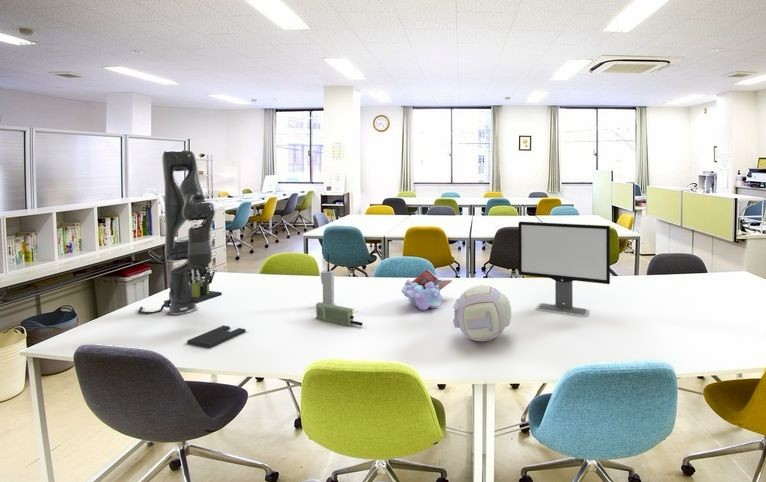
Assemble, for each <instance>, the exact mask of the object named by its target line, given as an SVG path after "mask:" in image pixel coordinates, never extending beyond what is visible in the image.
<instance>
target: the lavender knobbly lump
mask: <svg viewBox="0 0 766 482" xmlns="http://www.w3.org/2000/svg"><path fill="white" fill-rule="evenodd" d="M453 281H454V280H451V279H439V277H438V276H436V275H435V274H434V273H433V272H432V271H430V270H429V269H426V270H424V271H423V272H422V273H421V274H420V275H418V276H417V277H416V278H414V279H413V280H411V279H407V280H406V282H405V283H404V286H403V287H402V289H401V293H402V294H403V295H404V297H406V298H408V300H409V302H410V303H412V304H413V305H414V306H415V307H417V308H418V309H419V310H421V311H427V310H428V309H429V308H432V309H435V308H438V307H439V306H440V305H441V304H442V301H443V299H442V294H441V290H443V289H444V288H445V287H447V286H448V285H450V283H452V282H453Z"/></svg>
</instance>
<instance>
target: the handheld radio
mask: <svg viewBox="0 0 766 482" xmlns="http://www.w3.org/2000/svg"><path fill="white" fill-rule="evenodd" d="M354 310H355V309H354V308H352V307H351V308H350V307H345V306H341V305H335V304H334V305H331V304H325V303H322V302H317V303H316V304H315V312H316V313H315V314H316V319H318V320H322V321H327V322H331V323H334V324H335V323H336V324H340V325H345V326H351V327H352V326H355V325H356V326H360V327H362V326H363V322H361V321H357V320H354V318H355V316H354Z"/></svg>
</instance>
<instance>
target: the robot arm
mask: <svg viewBox="0 0 766 482" xmlns="http://www.w3.org/2000/svg"><path fill="white" fill-rule="evenodd" d="M161 162H162V171H163V181H164V219H165V241H164V258H165V260H166V261H167V262H176V261H178V262H179V261H184V260H185V262H183V263H182V264H180V265H178V266H175V267H173V268H171V269H170V270H169V291H168V299H166V300H164V301H163V304H162V305H161V306H160V309H158V310H154V311H142V310H143V309H144V307H143V306H139V309H138V314H143V315H150V314H151V315H152V314H158V313H160V312H162V311H163V310H164V308H168V309H169V314H170V315H171V316H172V315H173V316H178V315H184V314H189V313H192V312H194V311H196V310H197V303H189V304H186V305H177V304H176V301H178V300H179V298H180V297H183V296H187V295H190V294H192V284H193V283H196V282H200V295H202V296H203V295H206V294H207V285H208V284H209V285H210V284H212V283H213V279H214V277H215V274H216V271H215V269H214V270H212V269H211V268H210V263H212V243H211V228H212V224H213V221H214V218H215V215H216V207H215V205H214V203H212V202H209V201H205V199H206V197H205V194H204V190H203V188H202V186H201V181H200V175H199V167H198V162H197V158H196V155H195V153H194V152H193V151H192V150H183V149H181V150H180V149H178V150H177V149H174V150H173V149H170V150H169V149H168V150H165V151H163V153H162V161H161ZM175 172H188V173H187V174H186V176H185V177H184V178H183V180H182V181H181V183H180V184H179V182H178V181H177V179H176V177H175ZM204 201H205V202H204ZM186 221H187V222H193V221H202V222H201V223H200V224H198V225H194V226H191V227H190V228H189V229H188V231H187V232H188V233H187V235H188V238H186V239H177V240H175V238H176V236H177V234H178V232H179V231H180V229H181V228H182V227H183V225H184V224H185V223H186ZM203 280H204V283H203Z"/></svg>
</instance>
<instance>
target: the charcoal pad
mask: <svg viewBox="0 0 766 482" xmlns="http://www.w3.org/2000/svg"><path fill="white" fill-rule="evenodd" d="M230 329H231V326H229V325H224V324H223V325H221V326H218V327H216V328H213V329H211V330H209V331H207V332H204V333H201V334H199V335H197V336H194V337H192V338H189V339H187V340H186V341H187V344H188V345H193V346H198V347H203V348H209V349H212V348H214V347H216V346H218V345H220V344H222V343H225V342H227V341H229V340H231V339H233V338H235V337H238V336H240V335H242V334H244V333H246V328H241V327H238V328H236V329H234V330H231V331H229V330H230Z"/></svg>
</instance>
